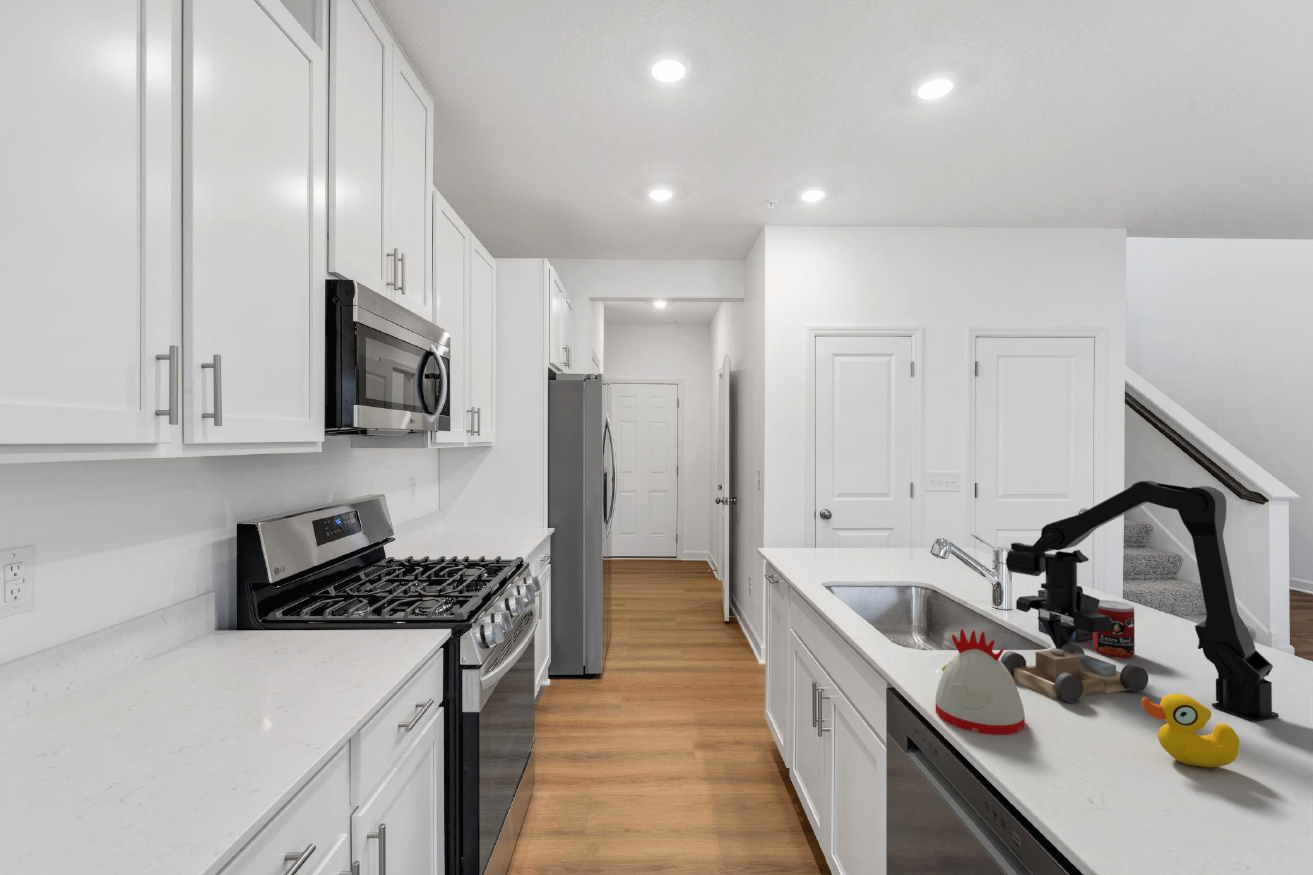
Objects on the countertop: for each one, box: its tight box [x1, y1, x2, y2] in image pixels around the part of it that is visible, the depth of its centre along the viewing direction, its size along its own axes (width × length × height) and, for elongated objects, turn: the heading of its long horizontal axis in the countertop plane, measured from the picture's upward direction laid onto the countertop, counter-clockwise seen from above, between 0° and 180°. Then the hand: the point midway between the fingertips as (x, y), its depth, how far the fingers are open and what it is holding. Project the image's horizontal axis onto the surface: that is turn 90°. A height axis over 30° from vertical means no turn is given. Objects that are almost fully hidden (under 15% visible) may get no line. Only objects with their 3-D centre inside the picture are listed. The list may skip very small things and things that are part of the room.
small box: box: [1037, 589, 1093, 644], centre depth 154 cm, size 11×6×10 cm, turn 17°
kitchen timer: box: [935, 628, 1026, 736], centre depth 109 cm, size 14×14×15 cm
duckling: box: [1141, 693, 1240, 768], centre depth 93 cm, size 11×5×10 cm, turn 66°
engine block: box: [1035, 647, 1080, 683], centre depth 122 cm, size 4×6×7 cm
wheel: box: [1061, 642, 1085, 654], centre depth 132 cm, size 2×5×5 cm, turn 106°
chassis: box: [1000, 650, 1149, 704], centre depth 123 cm, size 14×21×5 cm
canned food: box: [1092, 599, 1136, 659], centre depth 141 cm, size 8×8×11 cm
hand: (1061, 652), depth 135 cm, fingers closed
